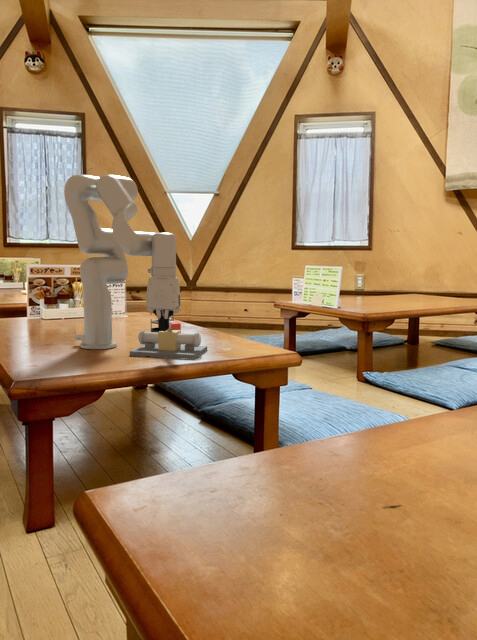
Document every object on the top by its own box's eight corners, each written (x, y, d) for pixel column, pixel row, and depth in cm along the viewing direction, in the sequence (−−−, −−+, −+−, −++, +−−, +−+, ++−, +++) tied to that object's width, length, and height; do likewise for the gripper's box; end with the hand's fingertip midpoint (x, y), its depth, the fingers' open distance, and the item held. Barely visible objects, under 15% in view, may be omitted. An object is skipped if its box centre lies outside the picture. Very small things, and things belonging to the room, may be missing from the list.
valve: (129, 355, 172) (129, 327, 171) (147, 347, 188) (147, 321, 187) (194, 359, 168) (194, 330, 167) (207, 350, 184) (207, 324, 182)
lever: (164, 324, 178) (164, 318, 177) (173, 324, 179) (173, 318, 178) (171, 330, 165) (171, 323, 165) (181, 330, 166) (181, 323, 166)
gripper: (136, 272, 162) (136, 331, 165) (183, 274, 159) (182, 333, 162) (145, 271, 170) (146, 328, 172) (190, 273, 167) (189, 330, 169)
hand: (163, 330), depth 167 cm, fingers closed
